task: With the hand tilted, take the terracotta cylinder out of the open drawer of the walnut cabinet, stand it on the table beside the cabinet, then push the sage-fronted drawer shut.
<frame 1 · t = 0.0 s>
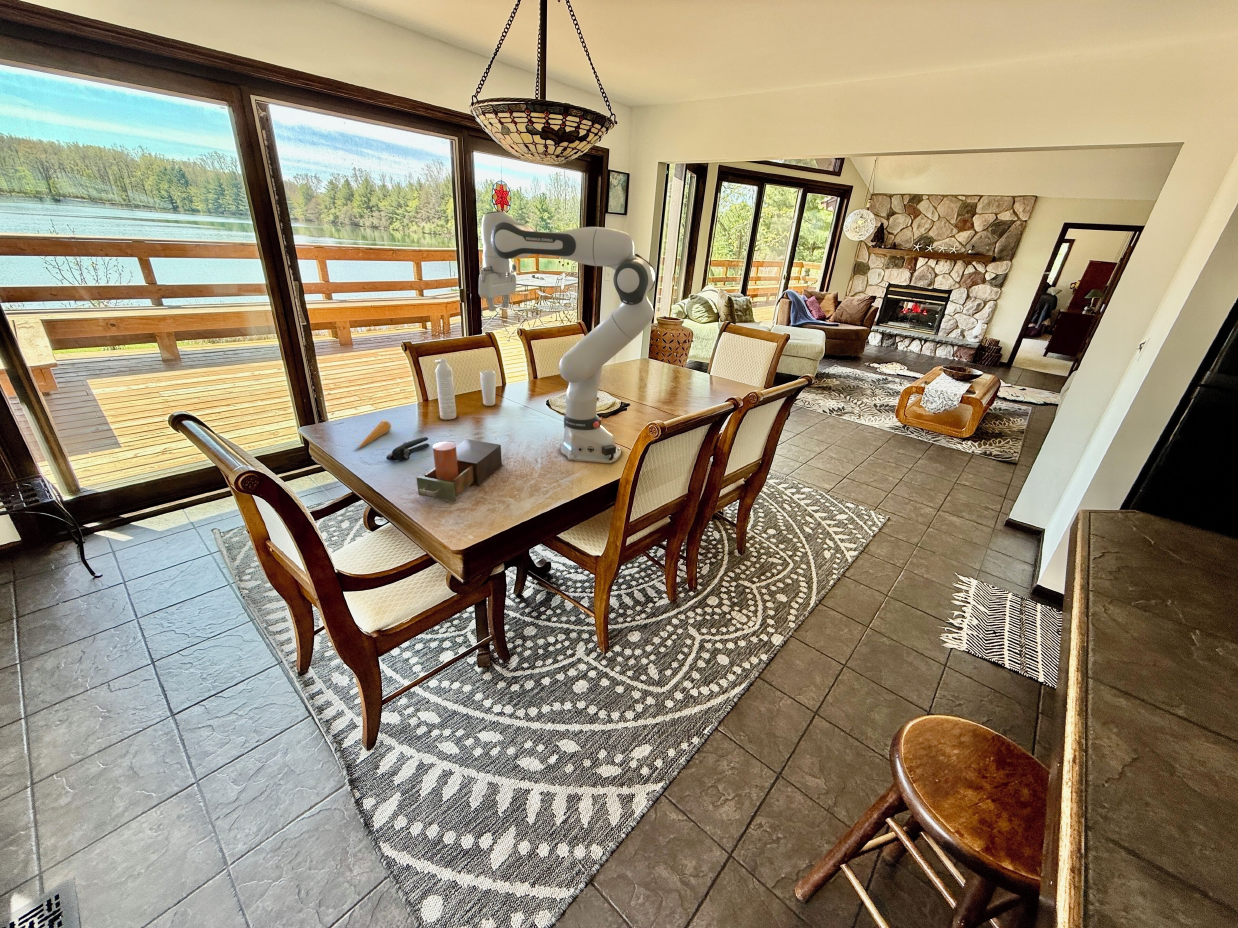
hand: (499, 309, 165), 48 cm above the table, tool pointing down, fingers open, 8 cm apart
cabinet: (473, 472, 159), on the table
carrot: (372, 439, 177), on the table
can opener: (411, 455, 167), on the table
terracotta cylinder: (448, 485, 145), point 2 cm above the table, touching drawer
drinking glass: (489, 404, 220), on the table
water bottle: (447, 418, 201), on the table
drawer: (445, 481, 143), point 4 cm above the table, slide at 11.5 cm, touching terracotta cylinder
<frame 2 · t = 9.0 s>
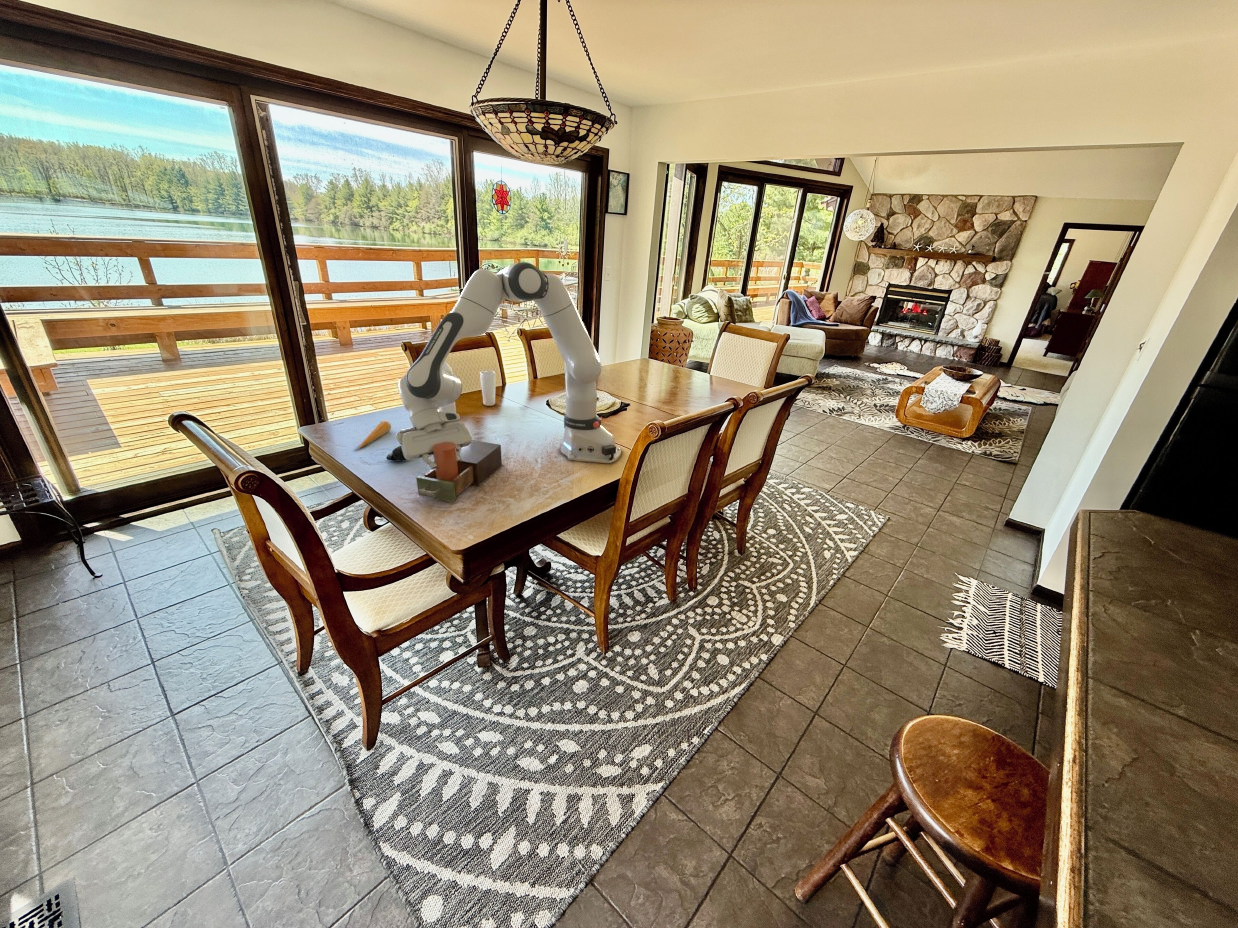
hand: (447, 464, 142), 9 cm above the table, tool tilted 45°, fingers closed on terracotta cylinder, 6 cm apart
terracotta cylinder: (448, 485, 145), point 2 cm above the table, touching drawer, gripper
everything else where it was.
when the fingers open (7 cm above the table, at t = 19.5 s): terracotta cylinder stays where it is, on the table.
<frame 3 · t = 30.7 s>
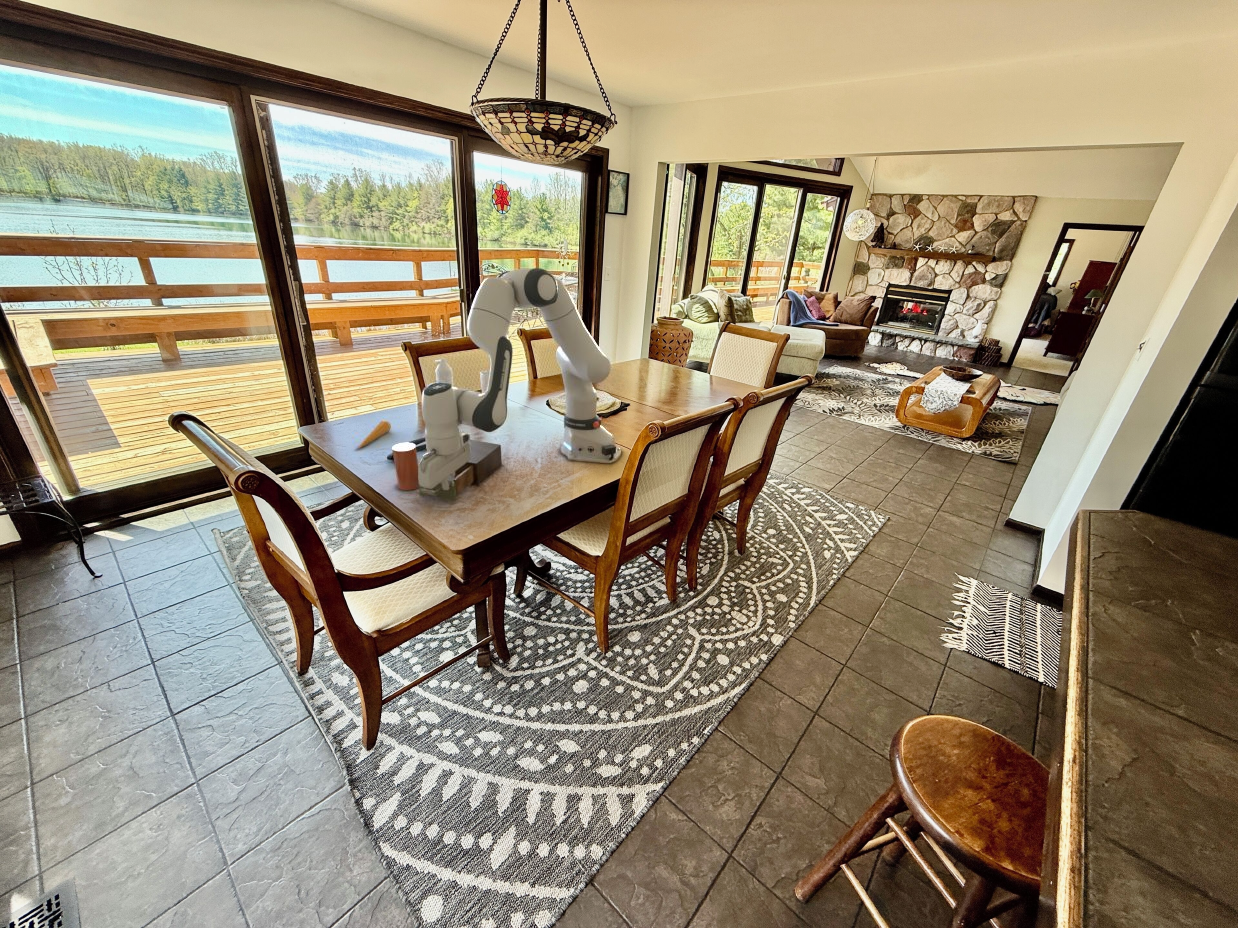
hand: (448, 487, 136), 6 cm above the table, tool pointing down, fingers closed
terracotta cylinder: (409, 485, 148), on the table
drawer: (446, 481, 144), point 4 cm above the table, slide at 11.1 cm, touching gripper
everything else where it was.
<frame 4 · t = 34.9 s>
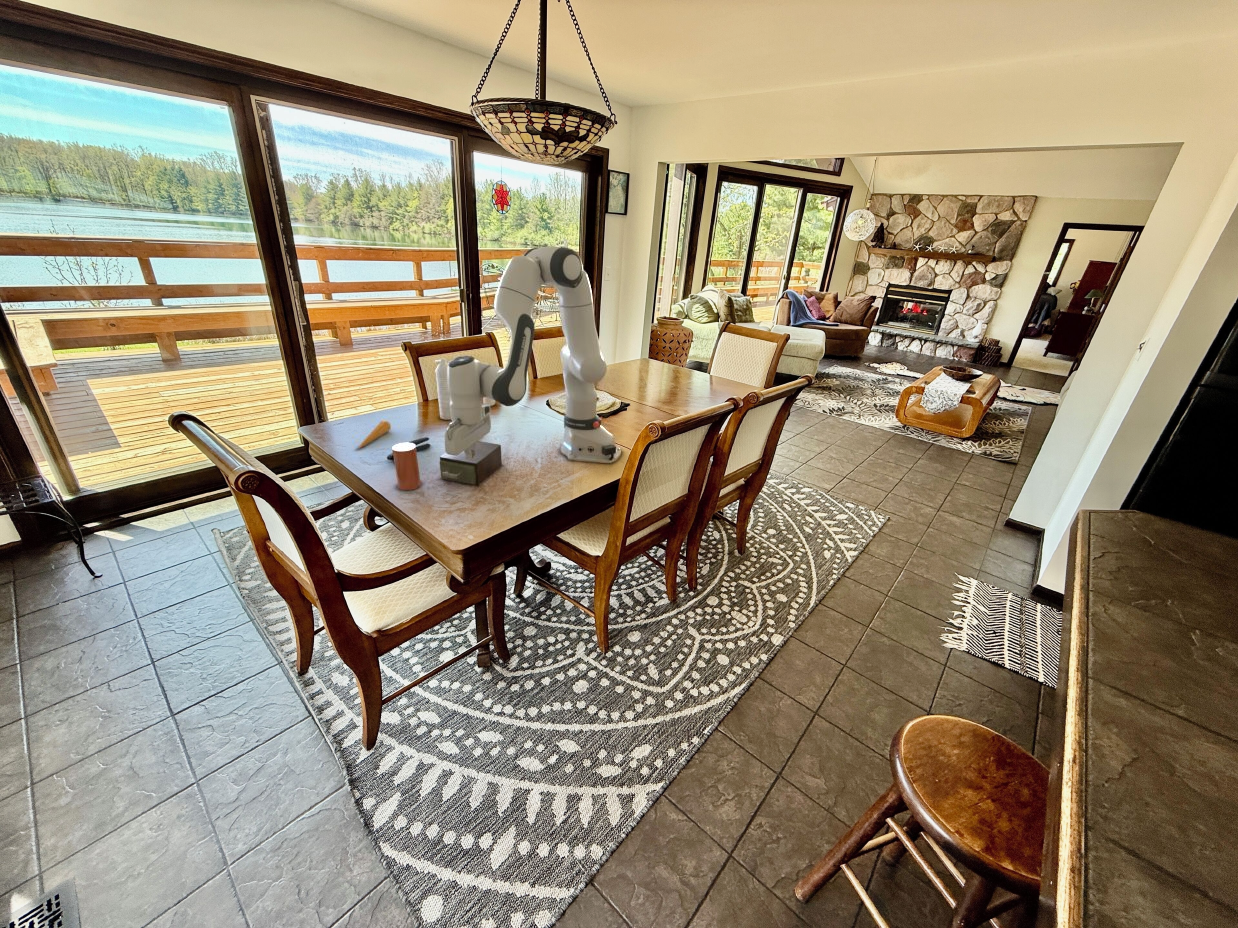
hand: (471, 456, 145), 10 cm above the table, tool pointing down, fingers closed
drawer: (465, 466, 153), point 4 cm above the table, slide at 0.0 cm, touching cabinet
everything else where it was.
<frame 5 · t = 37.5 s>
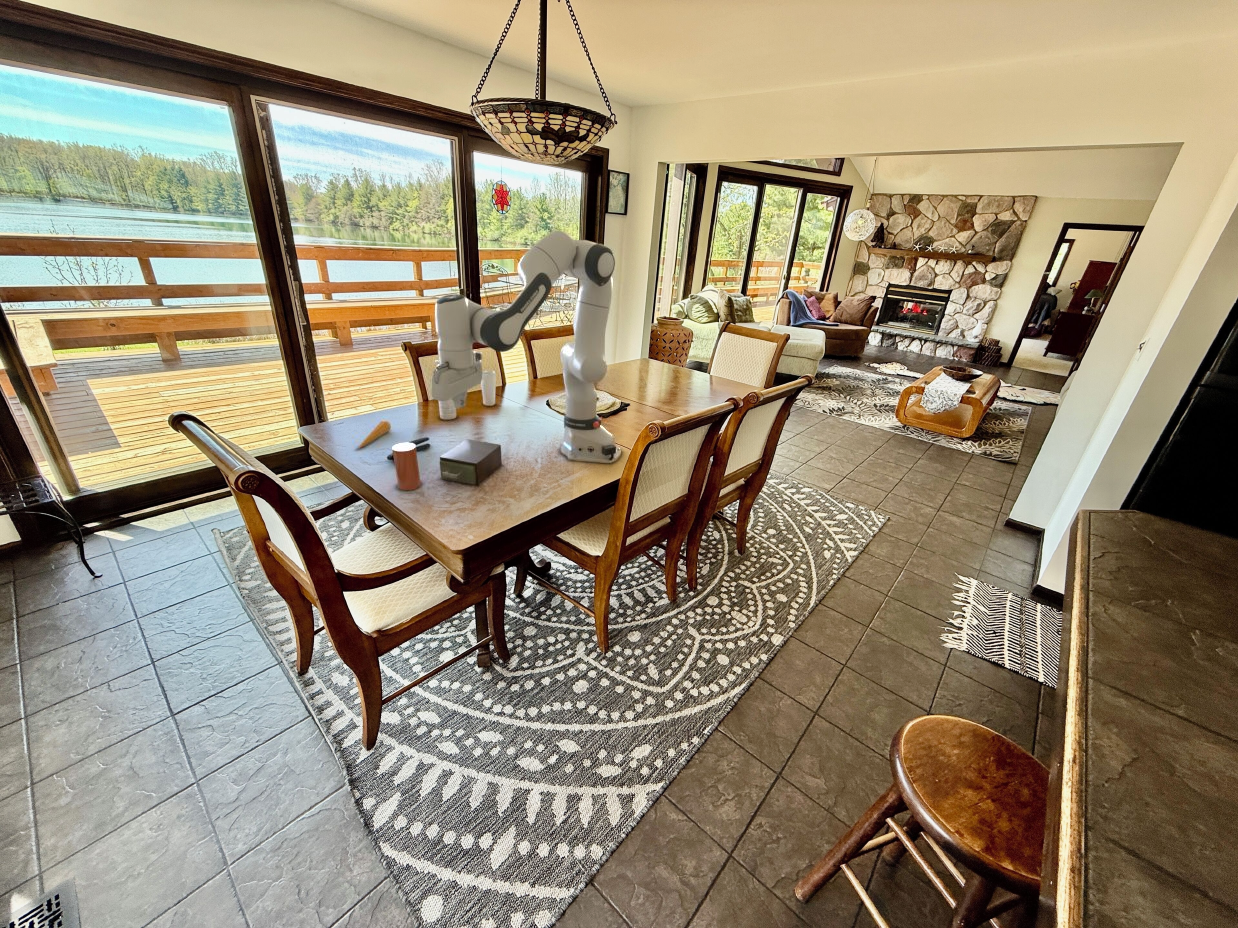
hand: (460, 407, 135), 27 cm above the table, tool pointing down, fingers closed
nothing on the table moved.
at the end: terracotta cylinder inside the target area (0.1 cm from its centre), on the table; terracotta cylinder tilted 0°; drawer slide at 0.0 cm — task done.
